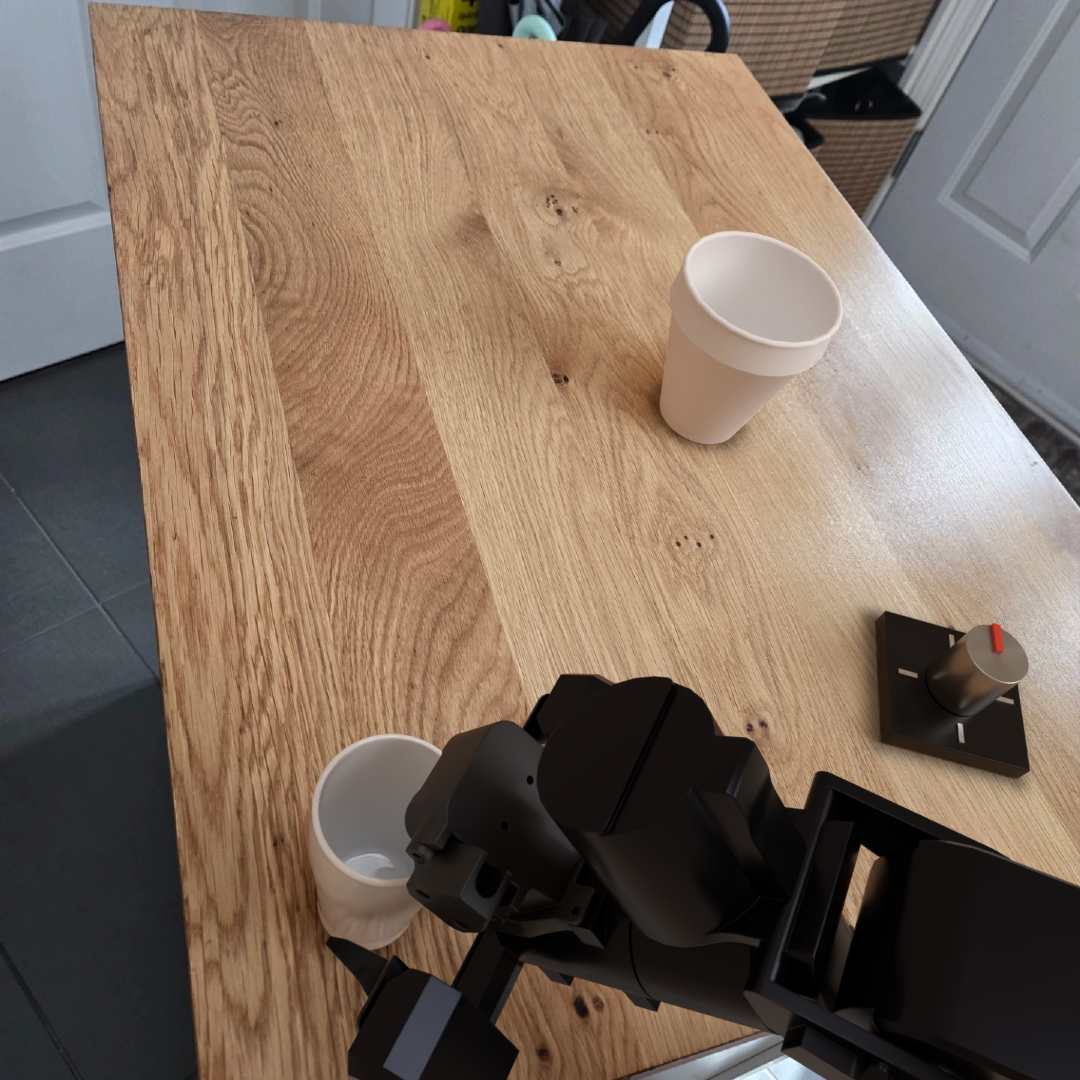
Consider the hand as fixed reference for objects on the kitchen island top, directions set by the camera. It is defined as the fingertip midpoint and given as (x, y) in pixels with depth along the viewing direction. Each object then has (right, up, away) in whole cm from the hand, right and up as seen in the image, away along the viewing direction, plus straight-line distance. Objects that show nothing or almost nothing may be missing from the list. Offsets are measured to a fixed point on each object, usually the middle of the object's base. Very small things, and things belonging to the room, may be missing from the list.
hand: (387, 854), depth 45 cm
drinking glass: (-2, -5, +7) cm, 9 cm away
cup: (+20, +25, +35) cm, 48 cm away
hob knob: (+36, +4, +22) cm, 43 cm away
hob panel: (+36, +4, +23) cm, 43 cm away
